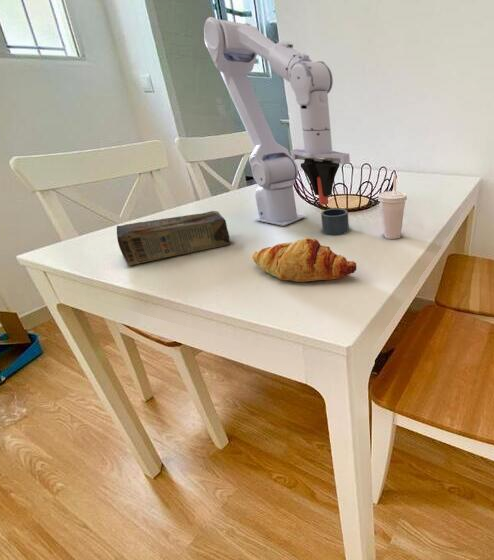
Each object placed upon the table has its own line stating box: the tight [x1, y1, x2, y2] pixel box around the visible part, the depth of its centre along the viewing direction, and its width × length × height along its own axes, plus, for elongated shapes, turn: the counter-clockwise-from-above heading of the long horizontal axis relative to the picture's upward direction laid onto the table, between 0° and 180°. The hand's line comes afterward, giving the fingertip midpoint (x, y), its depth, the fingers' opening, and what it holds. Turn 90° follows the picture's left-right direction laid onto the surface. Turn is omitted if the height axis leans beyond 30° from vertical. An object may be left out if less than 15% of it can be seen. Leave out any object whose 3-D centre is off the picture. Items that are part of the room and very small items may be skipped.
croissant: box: [252, 237, 357, 283], centre depth 62 cm, size 21×10×8 cm, turn 74°
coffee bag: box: [116, 210, 231, 266], centre depth 71 cm, size 8×19×7 cm, turn 127°
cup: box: [320, 208, 350, 236], centre depth 82 cm, size 6×6×4 cm
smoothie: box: [377, 173, 408, 240], centre depth 76 cm, size 6×6×14 cm
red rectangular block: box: [317, 176, 329, 206], centre depth 77 cm, size 2×2×6 cm
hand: (323, 194), depth 77 cm, fingers closed on red rectangular block, 2 cm apart
